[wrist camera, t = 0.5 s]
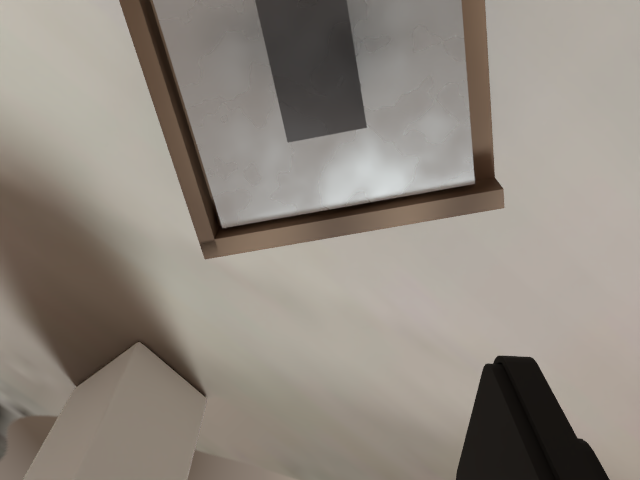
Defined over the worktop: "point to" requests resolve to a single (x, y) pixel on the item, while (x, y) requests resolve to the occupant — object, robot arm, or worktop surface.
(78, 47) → the worktop surface
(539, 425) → the robot arm
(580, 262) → the worktop surface
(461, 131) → the cover plate
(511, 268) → the worktop surface
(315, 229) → the walnut box
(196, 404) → the milk carton
